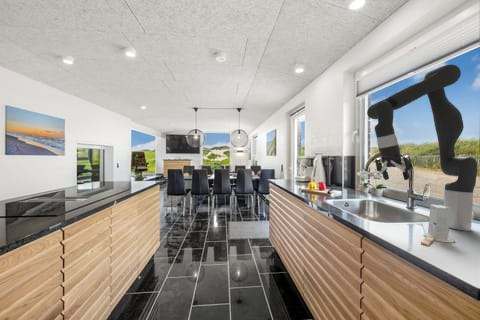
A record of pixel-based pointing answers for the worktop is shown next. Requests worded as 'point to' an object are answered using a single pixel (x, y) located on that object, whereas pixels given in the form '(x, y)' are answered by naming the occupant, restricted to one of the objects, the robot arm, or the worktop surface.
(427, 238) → the wooden slat
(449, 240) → the white shallow dome
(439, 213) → the skincare box
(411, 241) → the worktop surface
